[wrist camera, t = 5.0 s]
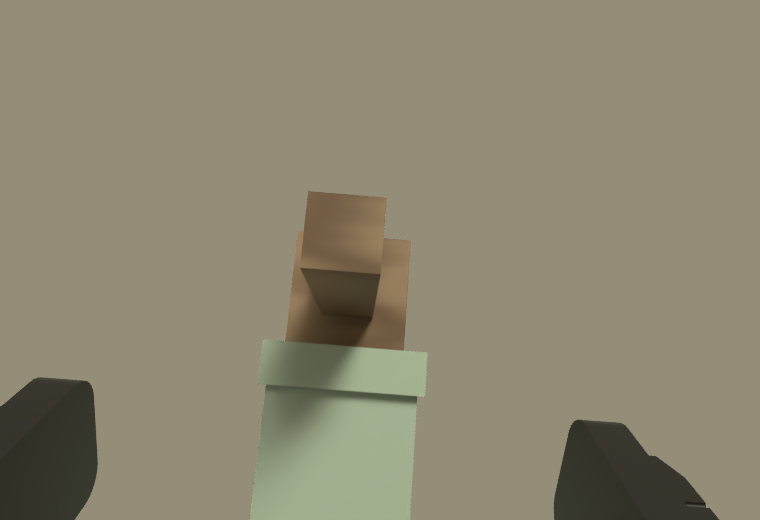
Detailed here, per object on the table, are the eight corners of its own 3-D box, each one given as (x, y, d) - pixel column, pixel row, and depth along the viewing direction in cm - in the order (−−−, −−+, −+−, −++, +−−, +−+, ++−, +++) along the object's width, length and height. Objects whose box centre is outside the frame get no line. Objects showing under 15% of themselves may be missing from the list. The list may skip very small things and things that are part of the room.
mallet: (395, 361, 34) (402, 265, 36) (430, 331, 18) (439, 154, 19) (297, 353, 34) (307, 257, 35) (239, 315, 17) (263, 139, 19)
